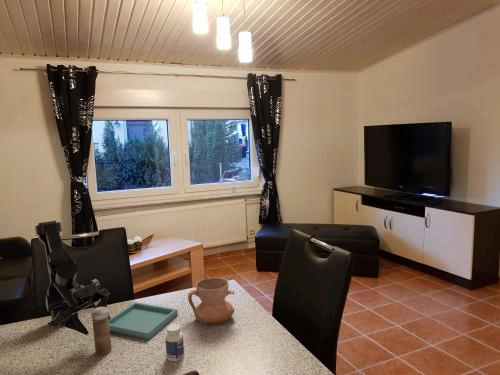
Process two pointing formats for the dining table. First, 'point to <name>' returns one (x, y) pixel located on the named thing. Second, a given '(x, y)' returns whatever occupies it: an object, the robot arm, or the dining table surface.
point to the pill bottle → (174, 343)
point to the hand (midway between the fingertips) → (99, 326)
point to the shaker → (101, 330)
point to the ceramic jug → (212, 301)
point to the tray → (141, 320)
